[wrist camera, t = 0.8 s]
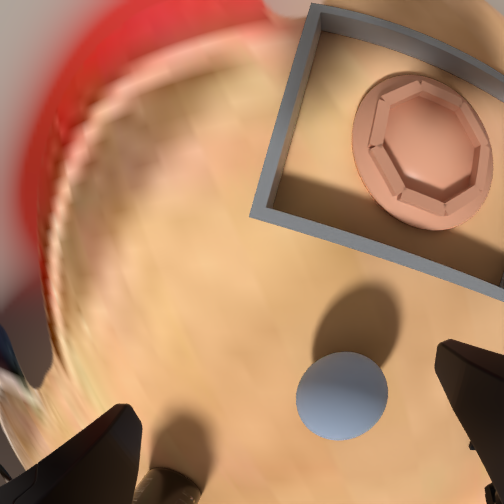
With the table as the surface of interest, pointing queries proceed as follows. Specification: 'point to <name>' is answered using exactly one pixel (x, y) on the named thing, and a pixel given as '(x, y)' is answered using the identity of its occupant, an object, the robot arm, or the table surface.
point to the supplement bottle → (166, 488)
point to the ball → (342, 395)
